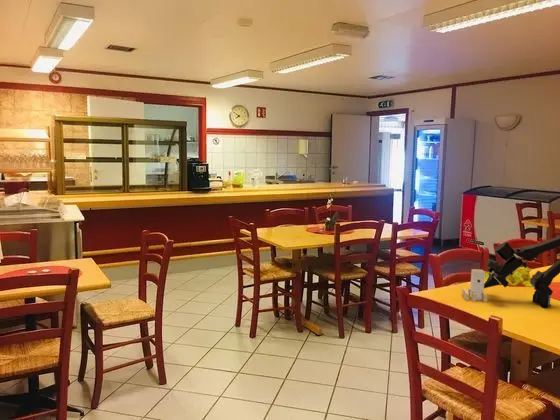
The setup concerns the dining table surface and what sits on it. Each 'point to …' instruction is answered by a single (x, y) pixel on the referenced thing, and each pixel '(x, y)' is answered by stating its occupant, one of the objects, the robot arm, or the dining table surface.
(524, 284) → the decorative piece
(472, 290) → the pillar on grey plate
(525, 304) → the dining table surface
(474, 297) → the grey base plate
